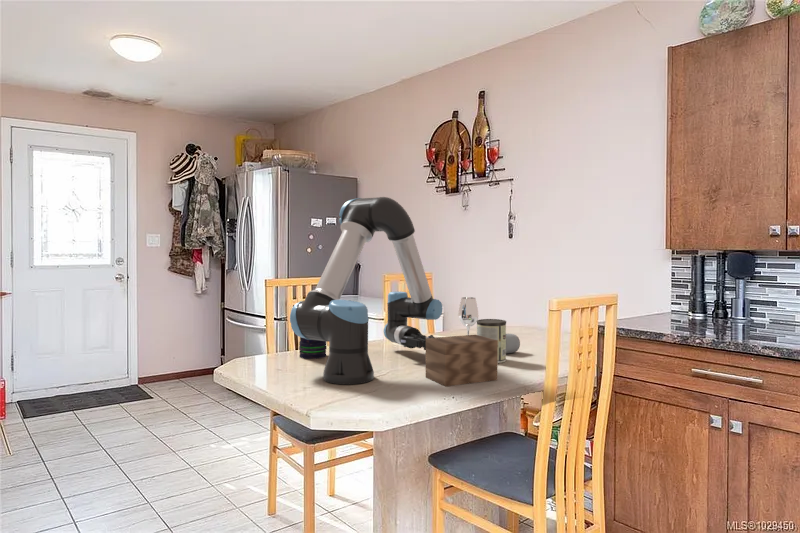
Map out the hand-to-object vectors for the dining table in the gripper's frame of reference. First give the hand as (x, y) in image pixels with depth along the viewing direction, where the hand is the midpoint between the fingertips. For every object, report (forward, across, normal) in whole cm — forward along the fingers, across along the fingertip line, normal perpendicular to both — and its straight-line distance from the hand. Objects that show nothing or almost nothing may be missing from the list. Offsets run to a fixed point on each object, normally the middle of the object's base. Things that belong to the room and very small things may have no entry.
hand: (438, 347), depth 181 cm
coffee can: (-5, -24, -7) cm, 25 cm away
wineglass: (-28, -28, -7) cm, 40 cm away
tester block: (+15, 0, -7) cm, 16 cm away
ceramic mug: (-15, -36, -8) cm, 40 cm away
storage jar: (-37, +32, -7) cm, 49 cm away
